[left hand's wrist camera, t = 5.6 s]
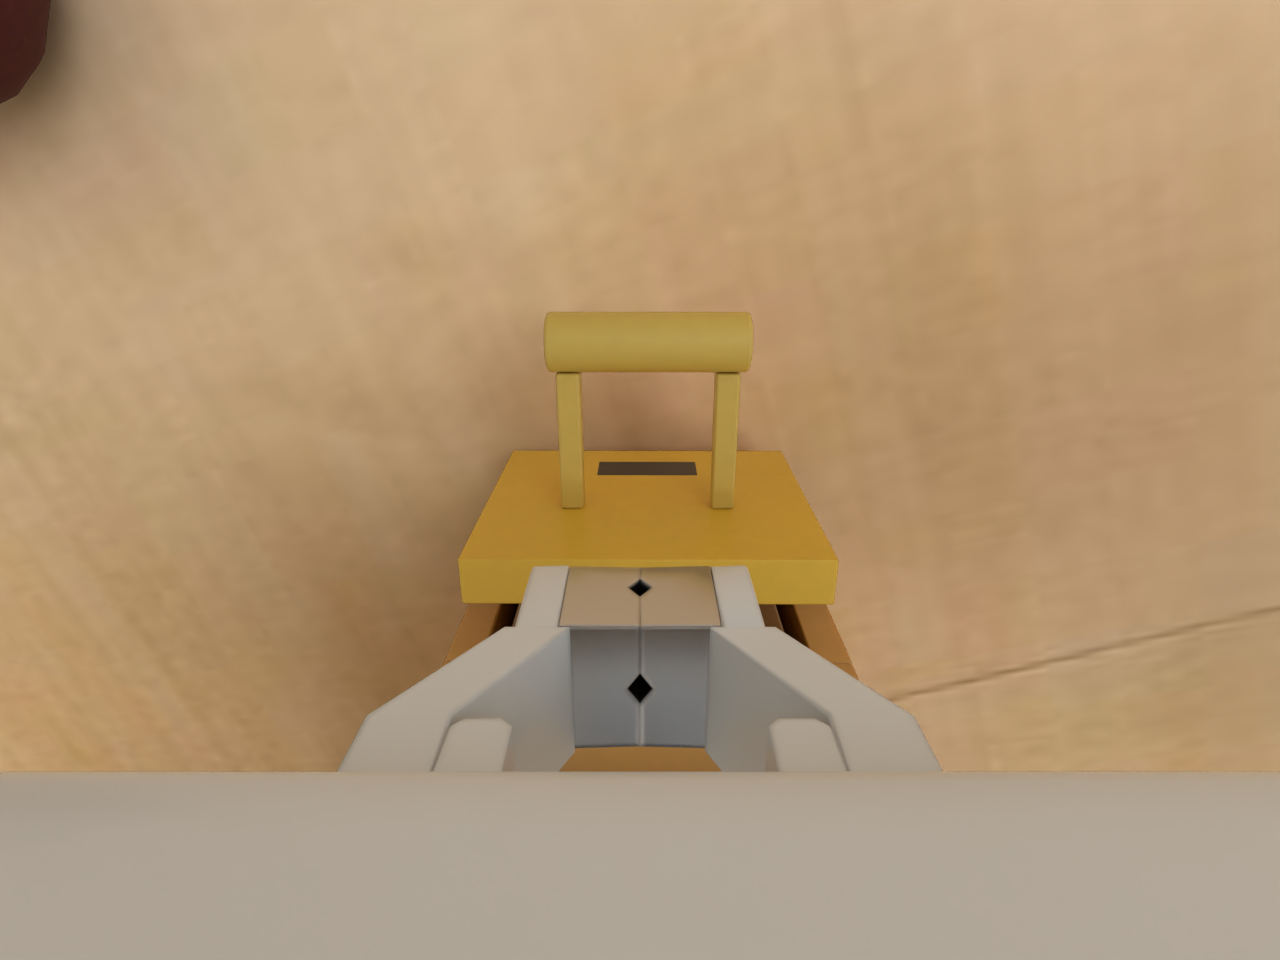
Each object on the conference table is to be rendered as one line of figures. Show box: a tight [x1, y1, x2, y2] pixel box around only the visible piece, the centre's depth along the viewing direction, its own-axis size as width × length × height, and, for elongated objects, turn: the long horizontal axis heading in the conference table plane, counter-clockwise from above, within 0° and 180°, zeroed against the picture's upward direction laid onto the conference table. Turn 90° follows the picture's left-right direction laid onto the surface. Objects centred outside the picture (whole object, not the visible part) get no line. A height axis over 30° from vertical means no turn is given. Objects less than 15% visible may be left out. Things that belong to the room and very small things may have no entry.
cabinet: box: [442, 603, 859, 772], centre depth 25 cm, size 21×10×10 cm, turn 0°
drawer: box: [458, 312, 839, 632], centre depth 23 cm, size 24×9×8 cm, turn 0°
